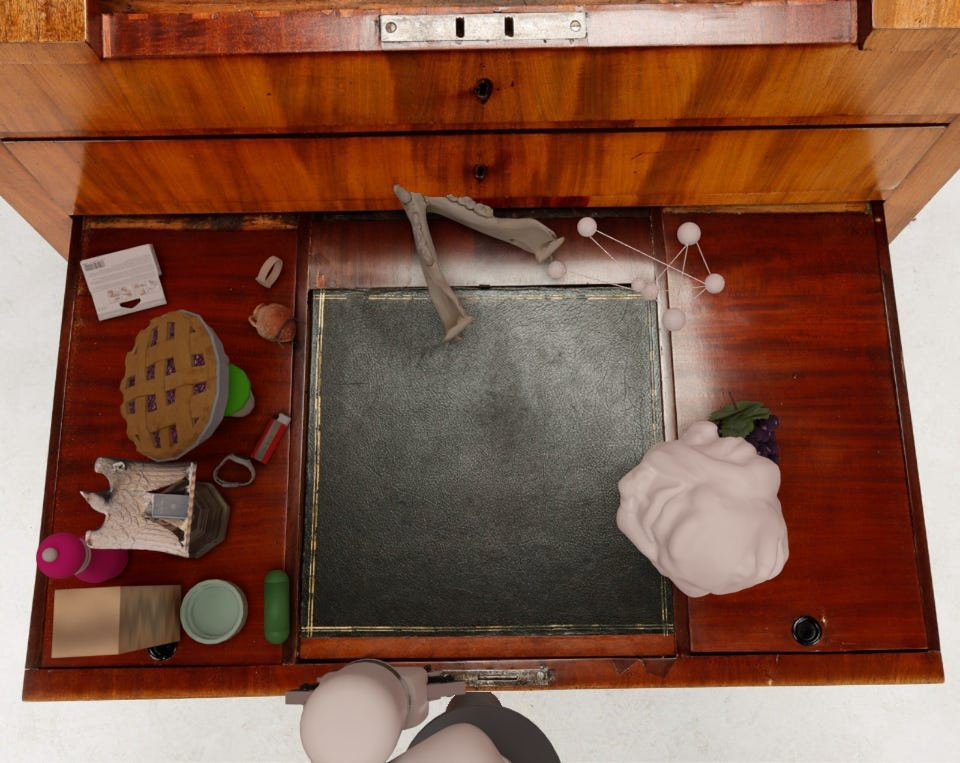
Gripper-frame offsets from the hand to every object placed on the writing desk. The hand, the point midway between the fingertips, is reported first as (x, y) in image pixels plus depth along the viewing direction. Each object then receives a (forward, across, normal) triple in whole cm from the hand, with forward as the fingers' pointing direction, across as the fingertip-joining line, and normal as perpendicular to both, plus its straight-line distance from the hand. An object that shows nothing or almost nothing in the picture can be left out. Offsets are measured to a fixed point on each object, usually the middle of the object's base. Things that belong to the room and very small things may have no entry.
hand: (382, 682), depth 93 cm
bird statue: (+38, -29, +22) cm, 53 cm away
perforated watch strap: (+38, -19, +59) cm, 73 cm away
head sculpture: (+20, +50, +9) cm, 54 cm away
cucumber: (+38, -17, +8) cm, 42 cm away
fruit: (+37, +55, +22) cm, 70 cm away
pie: (+30, -30, +40) cm, 58 cm away
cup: (+38, -24, +39) cm, 60 cm away
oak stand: (+38, -37, +8) cm, 54 cm away
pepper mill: (+38, -44, +16) cm, 61 cm away
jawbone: (+38, +10, +63) cm, 74 cm away
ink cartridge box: (+35, -43, +64) cm, 85 cm away
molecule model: (+34, +37, +64) cm, 81 cm away
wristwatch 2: (+38, -25, +26) cm, 52 cm away
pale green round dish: (+38, -28, +8) cm, 48 cm away
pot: (+34, -16, +53) cm, 65 cm away
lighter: (+38, -22, +29) cm, 52 cm away
